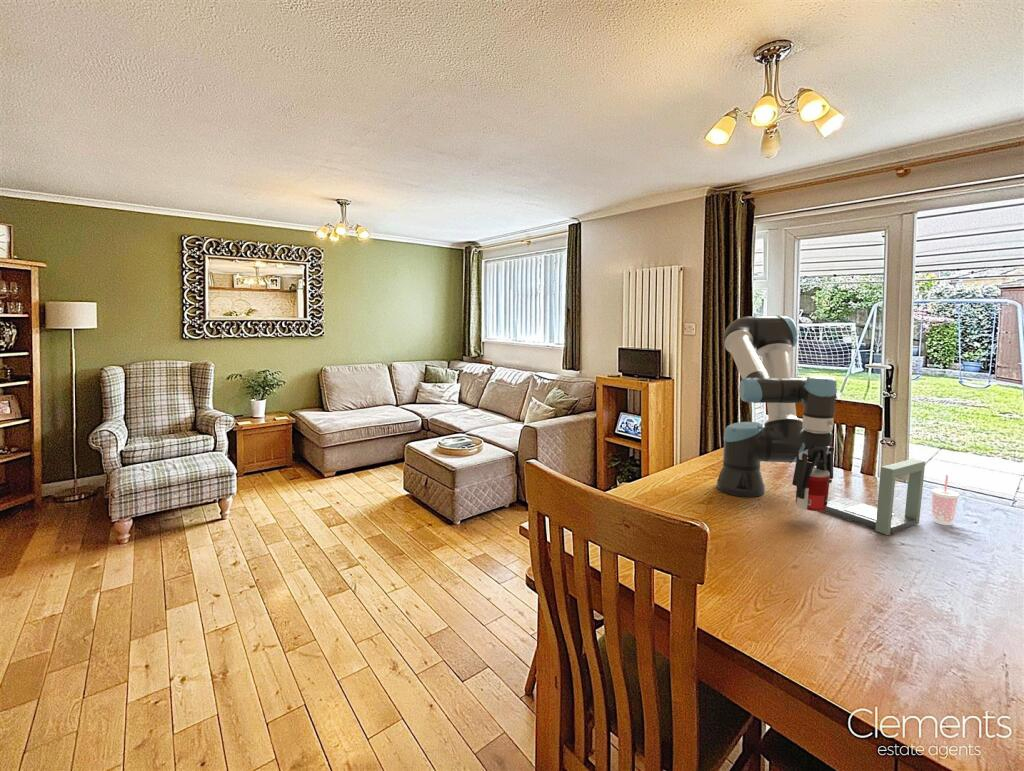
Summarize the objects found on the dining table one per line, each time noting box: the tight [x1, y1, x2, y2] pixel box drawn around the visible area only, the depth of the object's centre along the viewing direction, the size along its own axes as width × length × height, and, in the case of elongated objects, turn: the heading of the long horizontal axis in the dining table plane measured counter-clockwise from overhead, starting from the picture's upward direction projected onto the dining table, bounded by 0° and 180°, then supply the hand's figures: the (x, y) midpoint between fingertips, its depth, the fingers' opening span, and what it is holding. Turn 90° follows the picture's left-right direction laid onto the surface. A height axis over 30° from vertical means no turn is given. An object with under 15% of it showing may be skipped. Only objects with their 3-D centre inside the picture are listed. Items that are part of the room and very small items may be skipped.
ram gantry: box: [874, 458, 926, 536], centre depth 139 cm, size 3×16×18 cm, turn 116°
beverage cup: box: [930, 474, 960, 526], centre depth 143 cm, size 6×6×14 cm
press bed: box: [822, 496, 916, 535], centre depth 148 cm, size 20×12×2 cm, turn 26°
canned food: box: [795, 466, 831, 512], centre depth 146 cm, size 8×8×11 cm
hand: (811, 505), depth 147 cm, fingers closed on canned food, 8 cm apart
